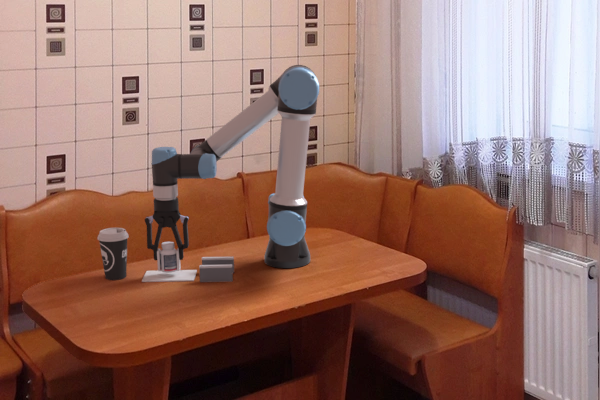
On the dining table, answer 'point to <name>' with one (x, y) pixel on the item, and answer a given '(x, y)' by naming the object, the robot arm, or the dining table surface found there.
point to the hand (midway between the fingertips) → (169, 269)
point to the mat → (169, 276)
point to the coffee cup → (114, 252)
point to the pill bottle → (168, 257)
